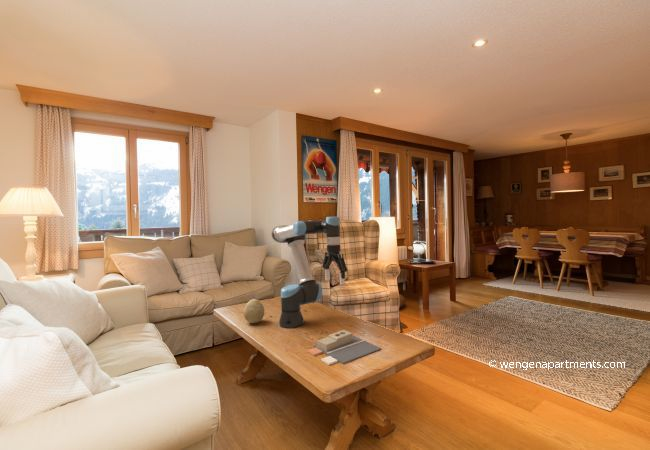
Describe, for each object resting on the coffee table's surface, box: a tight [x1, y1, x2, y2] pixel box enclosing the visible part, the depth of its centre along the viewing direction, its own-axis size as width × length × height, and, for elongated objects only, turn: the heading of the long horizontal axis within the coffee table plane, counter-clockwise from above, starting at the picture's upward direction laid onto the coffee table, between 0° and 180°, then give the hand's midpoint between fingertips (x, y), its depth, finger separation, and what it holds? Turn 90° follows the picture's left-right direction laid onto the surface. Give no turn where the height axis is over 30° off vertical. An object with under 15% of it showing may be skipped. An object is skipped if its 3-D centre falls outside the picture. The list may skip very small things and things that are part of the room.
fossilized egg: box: [243, 298, 265, 324], centre depth 200 cm, size 13×13×15 cm
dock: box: [307, 335, 382, 366], centre depth 157 cm, size 24×30×1 cm
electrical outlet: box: [316, 329, 354, 351], centre depth 163 cm, size 7×4×18 cm
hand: (334, 282), depth 178 cm, fingers open, 13 cm apart
